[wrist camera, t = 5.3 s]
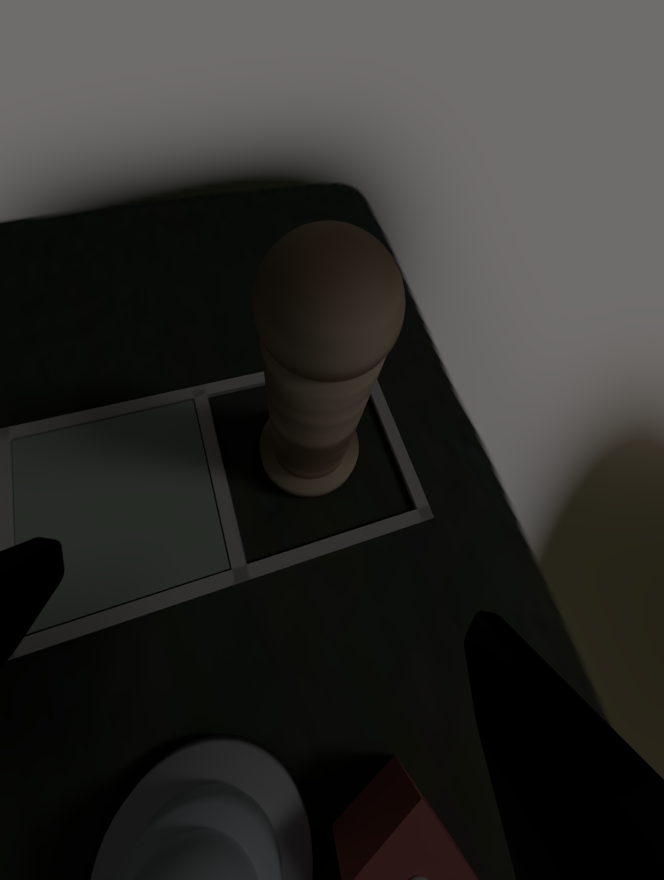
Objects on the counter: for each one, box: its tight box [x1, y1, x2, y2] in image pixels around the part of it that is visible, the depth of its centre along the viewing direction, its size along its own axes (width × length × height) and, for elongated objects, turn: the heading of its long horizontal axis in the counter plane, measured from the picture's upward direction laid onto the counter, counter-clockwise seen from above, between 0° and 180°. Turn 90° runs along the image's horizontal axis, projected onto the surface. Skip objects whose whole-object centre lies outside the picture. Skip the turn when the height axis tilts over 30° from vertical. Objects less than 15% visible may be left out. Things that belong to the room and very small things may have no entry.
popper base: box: [91, 735, 313, 880], centre depth 16 cm, size 9×9×1 cm
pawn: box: [252, 221, 405, 499], centre depth 16 cm, size 6×6×16 cm
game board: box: [0, 372, 434, 661], centre depth 22 cm, size 13×24×1 cm, turn 108°
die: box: [332, 755, 478, 880], centre depth 15 cm, size 4×4×4 cm
